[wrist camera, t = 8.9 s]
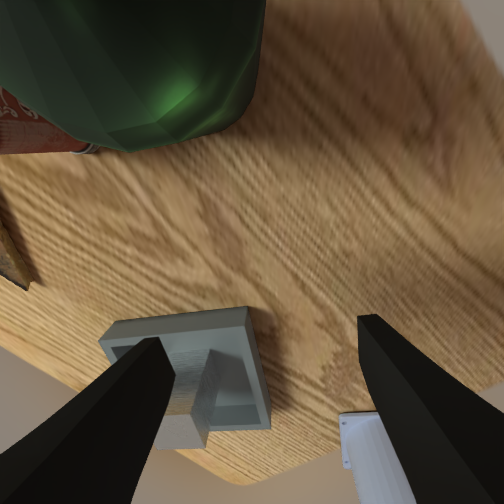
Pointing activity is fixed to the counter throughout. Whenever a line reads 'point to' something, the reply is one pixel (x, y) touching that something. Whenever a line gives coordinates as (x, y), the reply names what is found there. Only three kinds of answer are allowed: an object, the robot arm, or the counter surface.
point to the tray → (224, 354)
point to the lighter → (33, 131)
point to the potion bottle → (132, 66)
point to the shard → (12, 262)
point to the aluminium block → (189, 401)
